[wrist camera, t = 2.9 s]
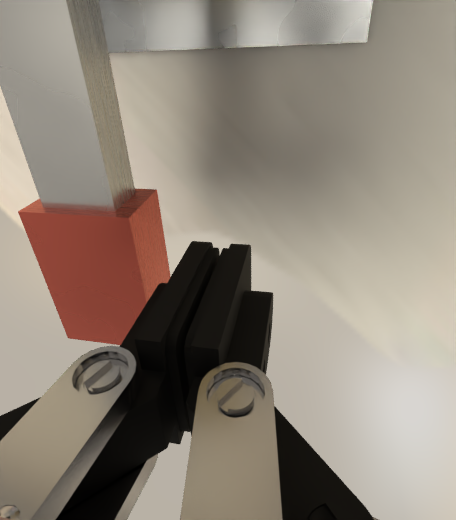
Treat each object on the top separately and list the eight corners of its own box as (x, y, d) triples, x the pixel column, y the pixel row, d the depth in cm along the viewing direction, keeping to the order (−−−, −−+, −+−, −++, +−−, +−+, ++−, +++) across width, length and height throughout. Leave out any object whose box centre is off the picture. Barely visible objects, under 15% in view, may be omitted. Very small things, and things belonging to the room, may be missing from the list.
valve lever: (-131, -432, 5) (-311, -619, 4) (48, -501, 5) (-79, -757, 3) (96, 302, 13) (68, 338, 11) (175, 311, 12) (156, 349, 11)
